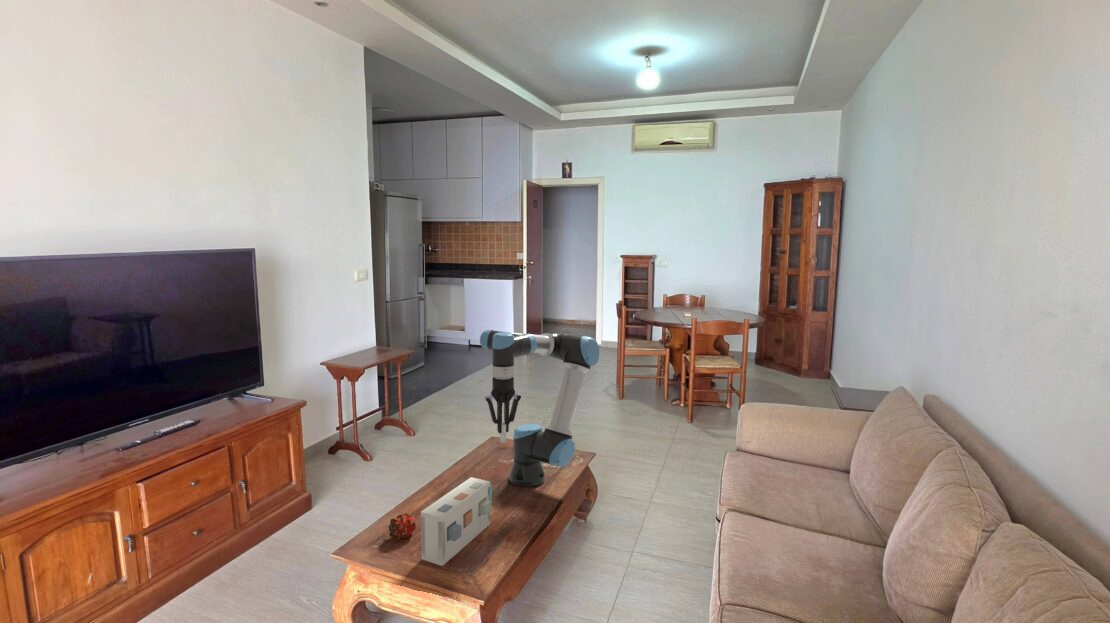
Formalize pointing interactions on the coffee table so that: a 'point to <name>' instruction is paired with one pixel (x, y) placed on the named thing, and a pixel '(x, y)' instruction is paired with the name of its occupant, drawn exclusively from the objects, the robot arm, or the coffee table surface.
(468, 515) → the terracotta button
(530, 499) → the coffee table surface
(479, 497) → the button box
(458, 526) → the slate button
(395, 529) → the dragon fruit
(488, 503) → the sage button
